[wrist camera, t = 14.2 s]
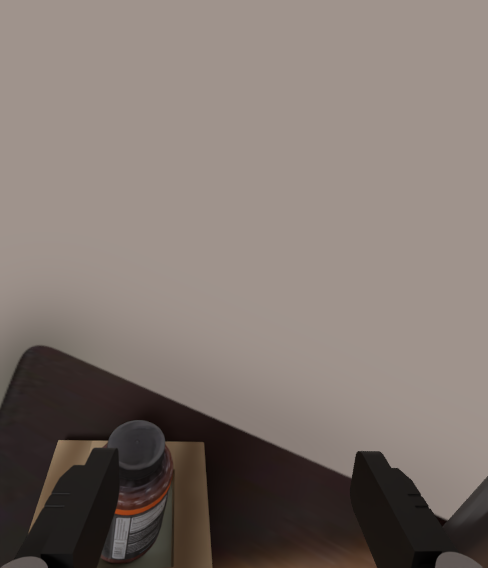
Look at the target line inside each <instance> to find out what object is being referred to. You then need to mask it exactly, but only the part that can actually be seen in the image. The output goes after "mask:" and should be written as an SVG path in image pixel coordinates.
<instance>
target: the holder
mask: <svg viewBox="0 0 488 568" xmlns="http://www.w3.org/2000/svg"><path fill="white" fill-rule="evenodd" d="M107 442H108V441H81V440H58V444H57V447H56V450H55V453H54V456H53V459H52V462H51V465H50V468H49V471H48V474H47V477H46V480H45V484H44V487H43V490H42V493H41V496H40V499H39V502H38V505H37V508H36V511H35V514H34V517H33V521H32V524H31V527H30V530H31V528H32V526H33V524H34V523H35V521H36V519H37V517H38V515H39V514H40V512H41V510H42V508H44V505H45V503H46V501H47V499H48V498H49V496H50V495H51V492H52V490H53V489H54V487H55V485H56V483H57V481H58V480H59V478H60V477H61V476H62V475H63V474H64V473H65V472H66V471H67V470H69V469H70V468H71V467H72V466H73V465H85V463H86V461H87V459H88V457H89V455H90V453H91V451H92V449H93V448H102V447H103V446H104V445H105V444H106V443H107ZM165 444H166V446H167V447H168V448H169V450H170V452H171V455H172V459H173V475H172V480H171V485H170V490H169V494H168V499H167V503H166V507H165V512H164V516H163V521H162V525H161V528H160V531H159V534H158V537H157V539H156V541H155V543H154V544H153V546H152V547H151V548H150V549H149V550H148V551H147V552H146V553H145V554H144V555H143V556H141V557H140V558H138V559H136V560H134V561H132V562H129V563H122V564H117V563H110V562H107V561H105V560H103V559H102V558H101V557H100V560H99V563H98V566H97V568H212V554H211V540H210V525H209V510H208V495H207V480H206V465H205V451H204V442H165ZM30 530H29V532H30Z"/></svg>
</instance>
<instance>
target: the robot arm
mask: <svg viewBox="0 0 488 568" xmlns="http://www.w3.org/2000/svg"><path fill="white" fill-rule="evenodd" d="M119 489H120V482H119V451H118V448H93V449H92V451H91V453H90V455H89V457H88V459H87V461H86V463H85V465H73V466H72V467H71V468H70V469H69V470H67V471H66V472H65V473H64V474H63V475H62V476H61V477H60V478H59V480H58V481H57V483H56V485H55V487H54V489H53V490H52V492H51V495H50V496H49V498H48V499H47V501H46V503H45V505H44V508H42V510H41V512H40V514H39V515H38V517H37V519H36V521H35V523H34V524H33V526H32V528H31V530H30V532H29V533H28V535H27V537H26V539H25V541H24V542H23V544H22V546H21V548H20V550H19V551H18V553H17V555H16V557H15V558H14V560H13V561H11V562H9V563H7V564H5V565H4V566H2V567H1V568H97V566H98V563H99V560H100V557H101V553H102V550H103V547H104V544H105V541H106V538H107V535H108V532H109V529H110V526H111V523H112V520H113V517H114V514H115V511H116V507H117V503H118V498H119ZM350 497H351V503H352V507H353V510H354V513H355V515H356V517H357V520H358V522H359V525H360V527H361V530H362V532H363V534H364V537H365V539H366V542H367V544H368V546H369V549H370V551H371V554H372V556H373V558H374V561H375V563H376V566H377V568H488V476H487V478H486V479H485V480H484V481H483V482H482V483H481V484H480V485H479V486H478V488H477V489H476V490H475V491H474V492H473V493H472V494H471V495H470V497H469V498H468V499H467V500H466V501H465V502H464V503H463V504H462V506H461V507H460V508H459V509H458V510H457V511H456V512H455V513H454V515H453V516H452V517H451V518H450V519H449V520H448V521H447V522H446V523H445V525H444V526H443V527H442V526H441V524H440V523H439V521H438V520H437V518H436V516H435V515H434V513H433V512H432V510H431V509H429V507H428V504H427V503H426V501H425V500H424V498H423V497H421V494H420V492H419V491H418V489H417V488H416V486H415V485H414V483H413V481H412V480H411V479H409V477H407V476H406V475H405V474H404V473H403V472H402V471H401V470H399V469H398V468H391V467H390V465H389V464H388V462H387V460H386V459H385V457H384V455H383V454H382V453H381V452H379V451H358V452H357V454H356V457H355V463H354V469H353V475H352V481H351V487H350Z"/></svg>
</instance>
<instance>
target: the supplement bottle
mask: <svg viewBox="0 0 488 568" xmlns="http://www.w3.org/2000/svg"><path fill="white" fill-rule="evenodd" d="M102 448H118V451H119V482H120V489H119V498H118V503H117V507H116V511H115V514H114V517H113V520H112V523H111V526H110V529H109V532H108V535H107V538H106V541H105V544H104V547H103V550H102V553H101V558H102V559H103V560H105V561H107V562H110V563H117V564H122V563H129V562H132V561H134V560H136V559H138V558H140V557H141V556H143V555H144V554H145V553H146V552H147V551H148V550H149V549H150V548H151V547H152V546H153V544H154V543H155V541H156V539H157V537H158V534H159V531H160V528H161V525H162V521H163V516H164V512H165V507H166V503H167V499H168V494H169V490H170V485H171V480H172V475H173V459H172V455H171V452H170V450H169V448H168V447H167V446H166V444H165V437H164V434H163V433H162V431H161V430H160V428H159V427H157V426H156V425H155V424H153V423H151V422H148V421H144V420H134V421H129V422H126V423H124V424H122V425H120V426H119V427H117V428H116V429H115V430H114V431H113V432H112V434H111V436H110V437H109V440H108V442H107V443H106V444H105V445H104V446H103V447H102Z"/></svg>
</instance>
